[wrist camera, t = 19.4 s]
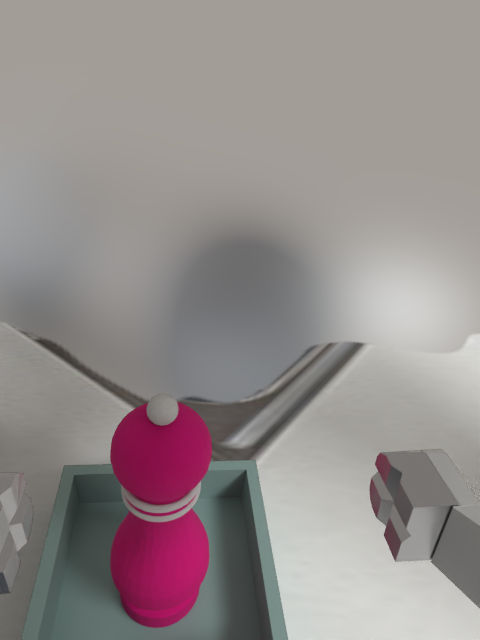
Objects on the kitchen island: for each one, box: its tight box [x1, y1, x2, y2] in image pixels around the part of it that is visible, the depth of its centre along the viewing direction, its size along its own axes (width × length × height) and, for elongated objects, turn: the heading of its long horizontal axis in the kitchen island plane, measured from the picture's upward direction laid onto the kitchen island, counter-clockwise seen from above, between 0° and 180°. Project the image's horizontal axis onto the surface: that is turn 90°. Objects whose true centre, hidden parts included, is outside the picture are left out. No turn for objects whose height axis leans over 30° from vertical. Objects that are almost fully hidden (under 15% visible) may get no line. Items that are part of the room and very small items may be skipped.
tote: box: [21, 460, 288, 640], centre depth 35 cm, size 17×17×5 cm
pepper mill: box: [110, 394, 212, 628], centre depth 30 cm, size 7×7×20 cm
